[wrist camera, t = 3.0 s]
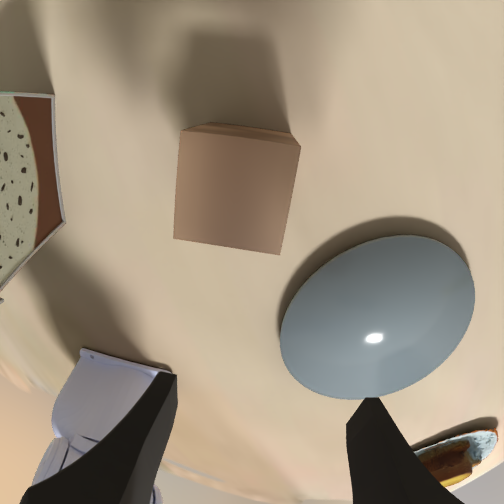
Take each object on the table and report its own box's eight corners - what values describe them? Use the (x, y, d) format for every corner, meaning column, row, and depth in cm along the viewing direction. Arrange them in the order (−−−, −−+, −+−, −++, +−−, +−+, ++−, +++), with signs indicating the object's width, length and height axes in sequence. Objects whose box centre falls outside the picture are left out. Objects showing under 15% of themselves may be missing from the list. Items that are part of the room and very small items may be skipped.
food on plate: (370, 497, 44) (373, 523, 38) (346, 464, 34) (350, 502, 28) (482, 454, 37) (490, 478, 31) (505, 398, 28) (521, 431, 22)
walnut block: (202, 197, 18) (173, 238, 13) (210, 122, 16) (180, 130, 11) (277, 208, 18) (279, 255, 13) (291, 133, 16) (301, 146, 11)
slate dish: (263, 384, 25) (262, 393, 24) (307, 209, 18) (309, 215, 17) (417, 391, 25) (420, 398, 24) (497, 252, 18) (503, 257, 17)
